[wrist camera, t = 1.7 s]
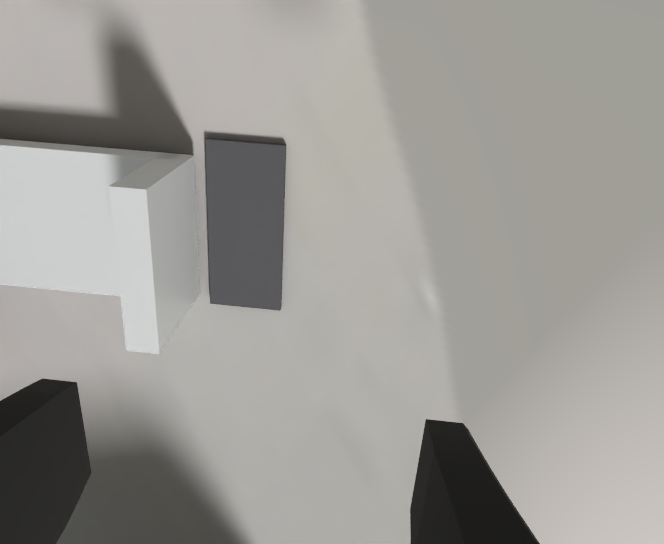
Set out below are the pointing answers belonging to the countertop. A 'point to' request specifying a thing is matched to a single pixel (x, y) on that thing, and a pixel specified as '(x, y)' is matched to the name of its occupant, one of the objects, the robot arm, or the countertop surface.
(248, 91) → the countertop surface
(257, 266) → the pad
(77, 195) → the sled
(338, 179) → the countertop surface
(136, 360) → the countertop surface
